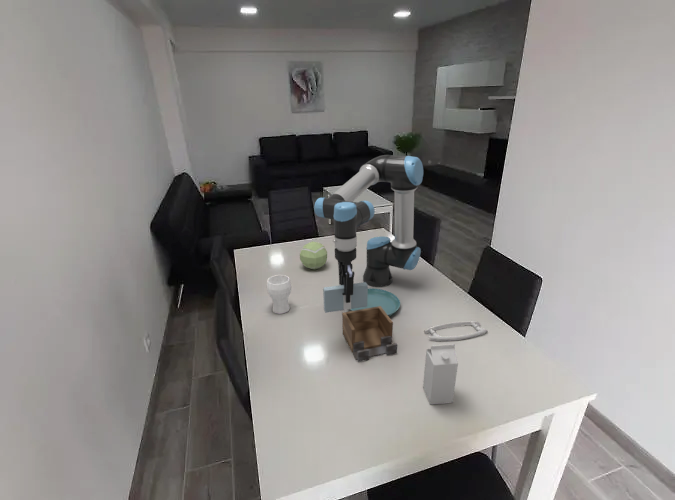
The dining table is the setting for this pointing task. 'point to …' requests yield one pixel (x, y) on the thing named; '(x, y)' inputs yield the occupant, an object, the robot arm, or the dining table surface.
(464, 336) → the door handle
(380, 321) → the cabinet
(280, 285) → the cup
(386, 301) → the saucer
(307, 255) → the decorative sphere
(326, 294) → the door
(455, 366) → the milk carton
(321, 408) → the dining table surface
